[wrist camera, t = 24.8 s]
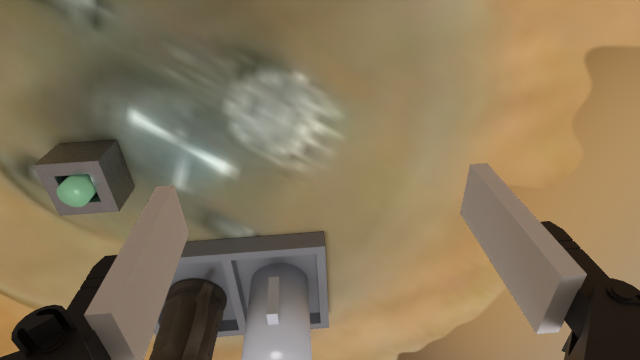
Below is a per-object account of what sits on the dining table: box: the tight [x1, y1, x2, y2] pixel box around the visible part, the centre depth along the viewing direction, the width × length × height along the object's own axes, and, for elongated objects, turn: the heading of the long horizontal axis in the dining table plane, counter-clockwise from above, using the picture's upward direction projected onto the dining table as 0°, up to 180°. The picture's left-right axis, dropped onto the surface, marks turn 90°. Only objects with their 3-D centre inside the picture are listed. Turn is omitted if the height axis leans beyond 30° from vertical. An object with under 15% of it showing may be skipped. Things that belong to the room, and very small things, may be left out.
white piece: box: [241, 263, 312, 360], centre depth 60 cm, size 10×13×16 cm
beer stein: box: [149, 279, 227, 360], centre depth 59 cm, size 15×11×20 cm
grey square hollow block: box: [33, 140, 135, 216], centre depth 51 cm, size 8×8×6 cm
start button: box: [57, 174, 97, 207], centre depth 50 cm, size 4×4×6 cm
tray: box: [154, 232, 329, 337], centre depth 66 cm, size 32×21×4 cm, turn 92°
